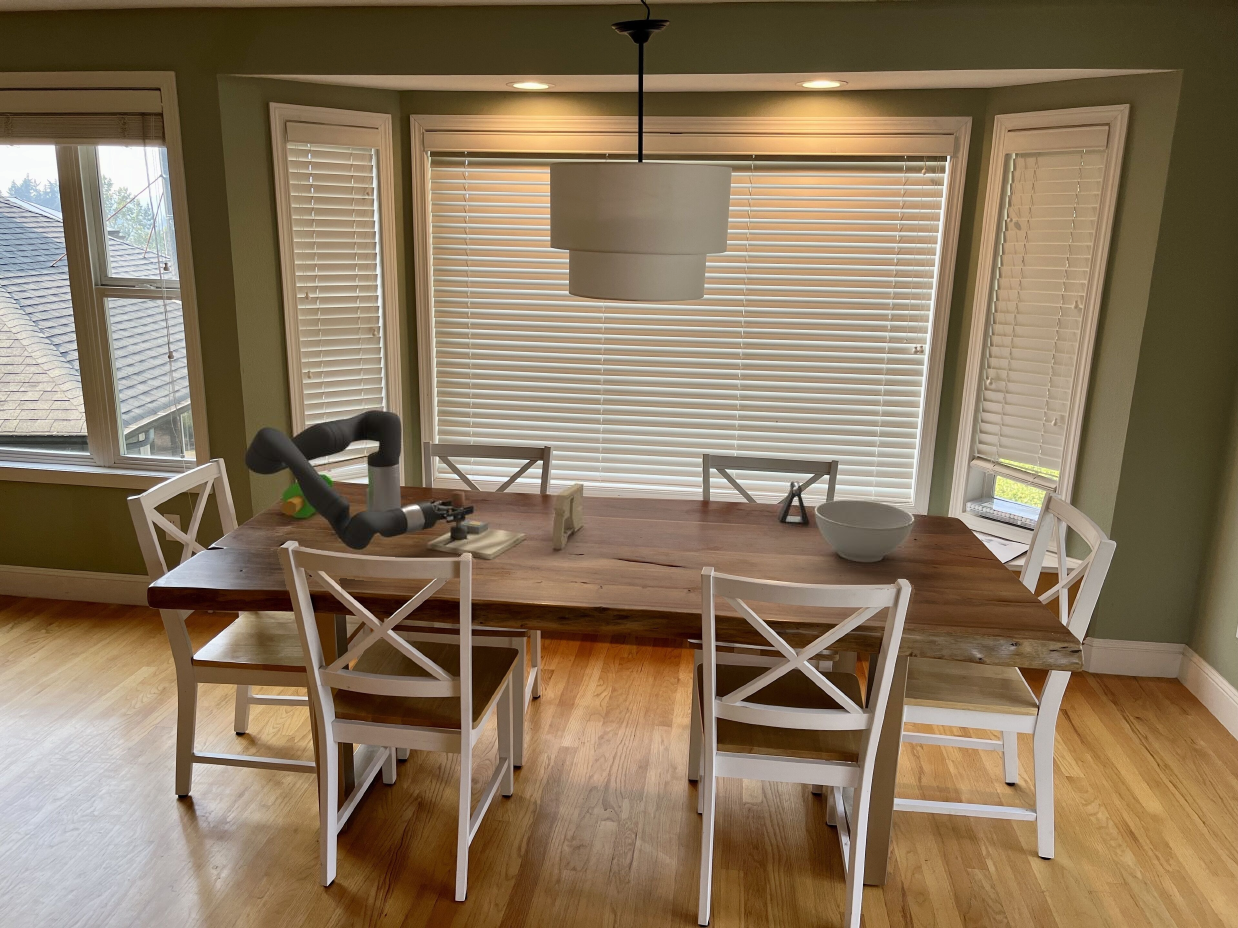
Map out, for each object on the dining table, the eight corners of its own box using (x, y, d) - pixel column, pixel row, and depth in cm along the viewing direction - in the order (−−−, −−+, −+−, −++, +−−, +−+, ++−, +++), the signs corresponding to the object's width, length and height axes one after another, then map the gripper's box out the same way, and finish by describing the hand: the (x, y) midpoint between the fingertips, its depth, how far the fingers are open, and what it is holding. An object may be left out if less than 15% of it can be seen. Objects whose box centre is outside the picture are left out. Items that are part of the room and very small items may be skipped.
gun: (562, 550, 248) (563, 497, 246) (550, 549, 249) (552, 496, 247) (583, 531, 272) (584, 483, 270) (572, 531, 273) (574, 482, 270)
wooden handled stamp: (447, 538, 252) (446, 493, 249) (456, 533, 256) (455, 489, 253) (461, 540, 250) (460, 495, 247) (470, 536, 254) (469, 491, 251)
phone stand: (807, 518, 284) (809, 481, 281) (809, 523, 278) (811, 486, 275) (778, 516, 285) (780, 480, 282) (779, 522, 279) (782, 485, 276)
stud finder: (458, 530, 259) (458, 523, 258) (467, 525, 263) (467, 518, 263) (479, 533, 256) (479, 526, 256) (488, 529, 261) (488, 522, 260)
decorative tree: (278, 484, 264) (320, 456, 292) (266, 517, 267) (310, 487, 296) (313, 499, 264) (352, 471, 292) (302, 532, 267) (342, 501, 296)
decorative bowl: (825, 534, 268) (828, 495, 266) (918, 549, 257) (922, 508, 254) (799, 560, 245) (802, 518, 242) (900, 578, 233) (904, 534, 231)
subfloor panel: (427, 548, 248) (427, 542, 248) (465, 529, 265) (465, 524, 265) (490, 559, 241) (490, 553, 240) (524, 539, 258) (524, 533, 257)
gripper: (400, 525, 246) (448, 513, 258) (430, 537, 237) (479, 524, 248) (399, 498, 244) (447, 488, 256) (430, 510, 235) (479, 498, 247)
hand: (463, 506), depth 252 cm, fingers open, 8 cm apart
